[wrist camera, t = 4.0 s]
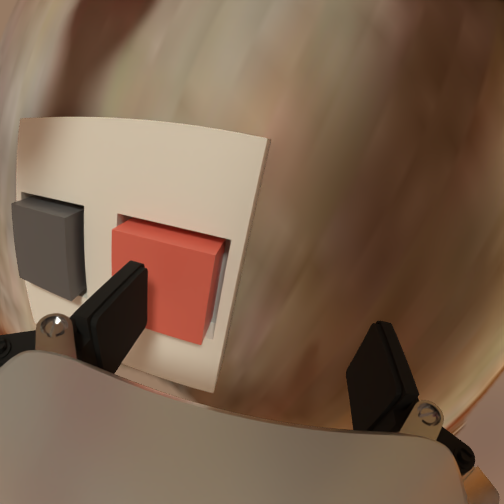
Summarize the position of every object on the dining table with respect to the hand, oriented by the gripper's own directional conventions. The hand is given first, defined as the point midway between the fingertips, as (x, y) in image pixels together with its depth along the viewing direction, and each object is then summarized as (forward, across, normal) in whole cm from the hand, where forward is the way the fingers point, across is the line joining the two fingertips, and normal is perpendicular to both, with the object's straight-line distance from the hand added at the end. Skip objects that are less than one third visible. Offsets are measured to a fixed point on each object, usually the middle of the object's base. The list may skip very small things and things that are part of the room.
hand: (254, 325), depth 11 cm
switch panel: (+6, +9, +1) cm, 10 cm away
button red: (+4, +5, +1) cm, 6 cm away
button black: (+4, +13, +1) cm, 13 cm away
